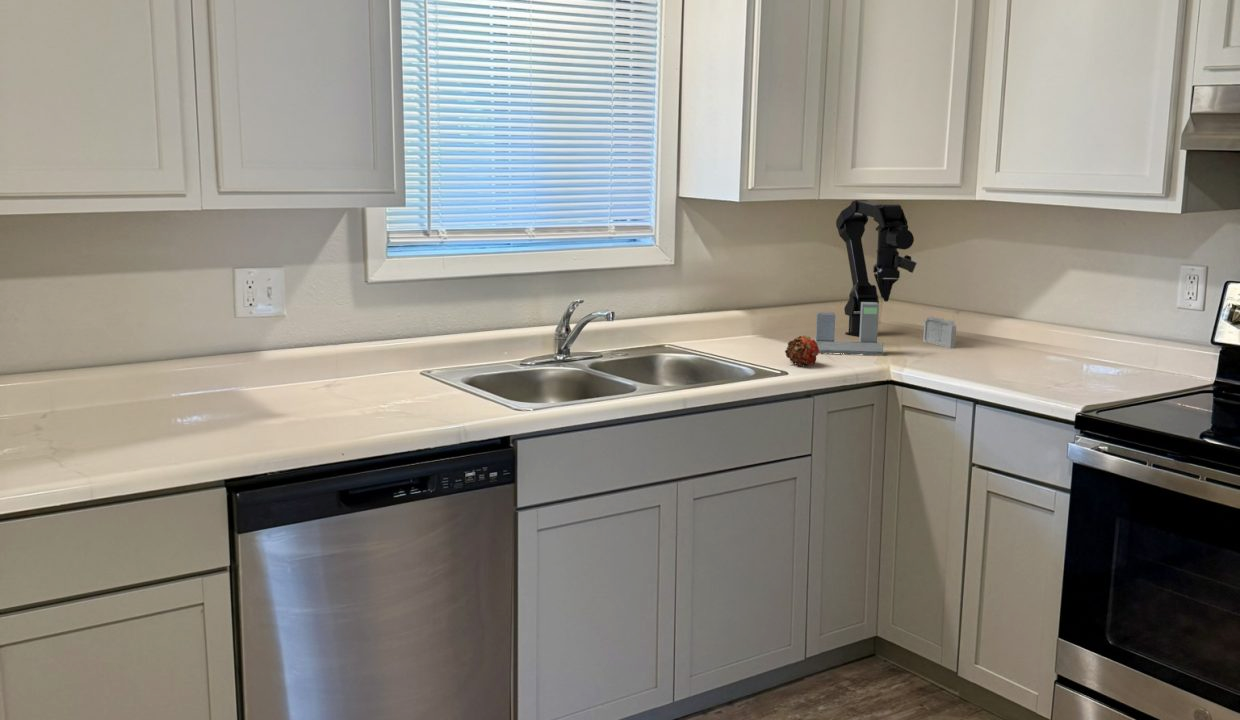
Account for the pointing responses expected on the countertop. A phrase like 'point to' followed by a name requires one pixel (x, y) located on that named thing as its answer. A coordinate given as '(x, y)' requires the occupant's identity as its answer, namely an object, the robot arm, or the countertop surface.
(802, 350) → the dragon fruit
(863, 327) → the block
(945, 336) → the light switch
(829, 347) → the rail
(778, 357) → the countertop surface
